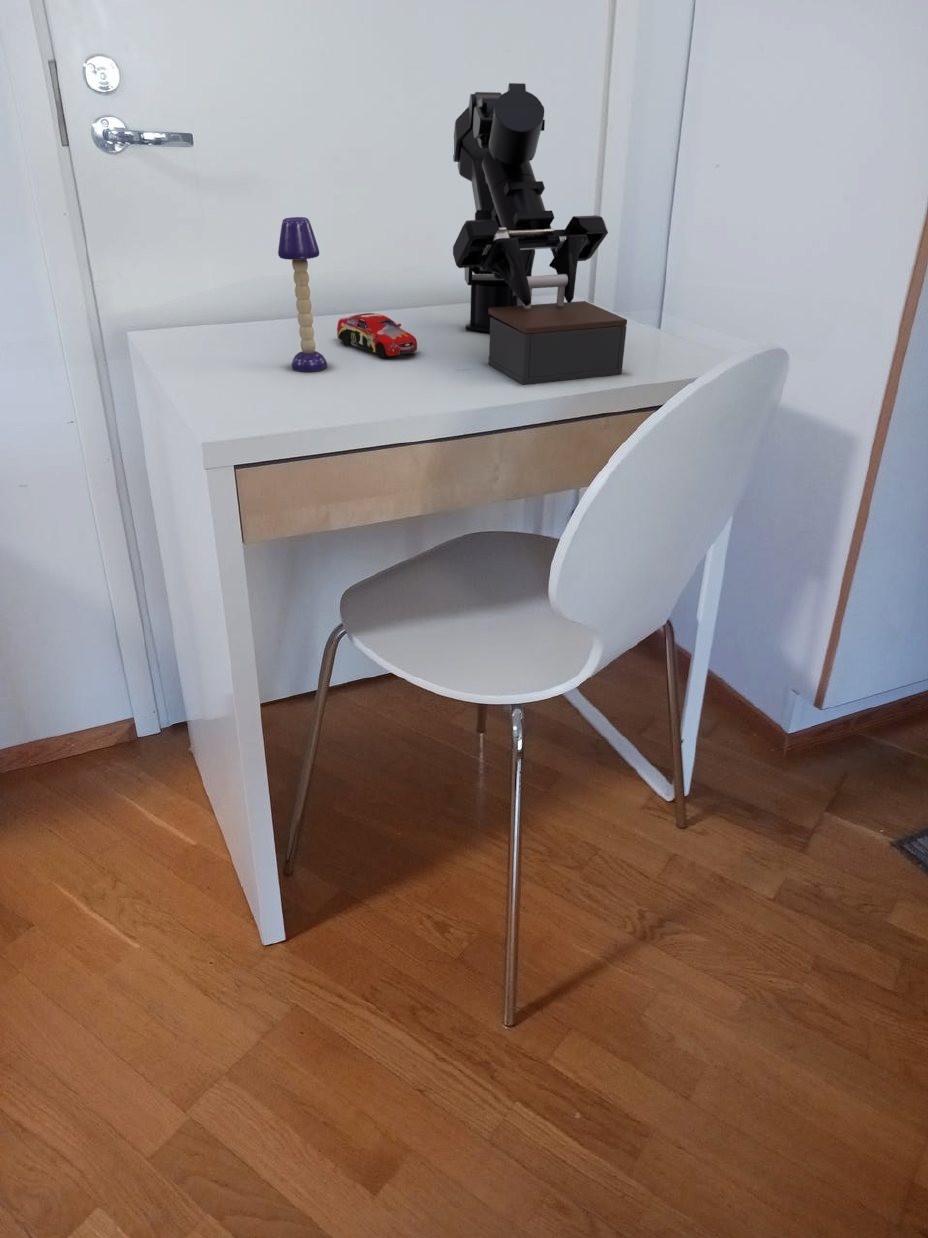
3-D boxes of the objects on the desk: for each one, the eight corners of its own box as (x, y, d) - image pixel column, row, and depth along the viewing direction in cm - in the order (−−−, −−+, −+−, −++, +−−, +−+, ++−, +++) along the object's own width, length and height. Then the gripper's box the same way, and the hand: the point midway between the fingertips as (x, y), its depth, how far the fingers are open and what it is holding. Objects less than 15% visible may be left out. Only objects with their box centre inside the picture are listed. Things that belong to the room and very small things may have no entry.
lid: (488, 313, 115) (489, 275, 113) (584, 306, 120) (587, 269, 117) (525, 333, 107) (527, 293, 105) (626, 325, 112) (631, 286, 110)
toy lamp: (293, 373, 112) (283, 221, 104) (281, 364, 115) (270, 216, 107) (332, 369, 114) (324, 219, 106) (318, 360, 117) (310, 214, 109)
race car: (424, 356, 120) (425, 324, 118) (389, 363, 117) (389, 330, 115) (365, 335, 129) (365, 304, 127) (331, 340, 126) (330, 309, 124)
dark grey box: (488, 364, 117) (490, 317, 115) (582, 355, 122) (586, 309, 119) (522, 384, 110) (525, 334, 107) (621, 374, 115) (626, 325, 112)
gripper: (555, 229, 128) (589, 332, 125) (426, 234, 121) (458, 344, 118) (590, 171, 118) (628, 282, 115) (451, 174, 111) (487, 292, 108)
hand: (549, 302), depth 114 cm, fingers closed on lid, 5 cm apart
